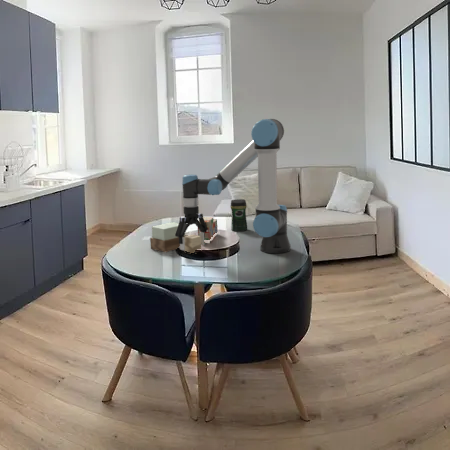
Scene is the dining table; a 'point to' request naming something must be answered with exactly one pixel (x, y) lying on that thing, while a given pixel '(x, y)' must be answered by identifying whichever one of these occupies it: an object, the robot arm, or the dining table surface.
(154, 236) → the tower top
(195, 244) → the maple block
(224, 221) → the dining table surface
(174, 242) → the tower base
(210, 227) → the printed cardboard box
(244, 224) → the coffee jar
